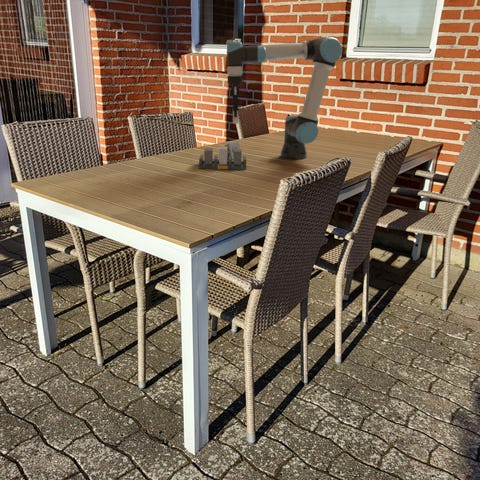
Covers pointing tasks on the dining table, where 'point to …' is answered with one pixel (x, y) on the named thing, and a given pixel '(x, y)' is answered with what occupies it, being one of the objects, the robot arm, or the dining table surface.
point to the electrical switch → (232, 148)
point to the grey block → (223, 156)
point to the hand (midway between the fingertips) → (235, 123)
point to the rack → (208, 162)
